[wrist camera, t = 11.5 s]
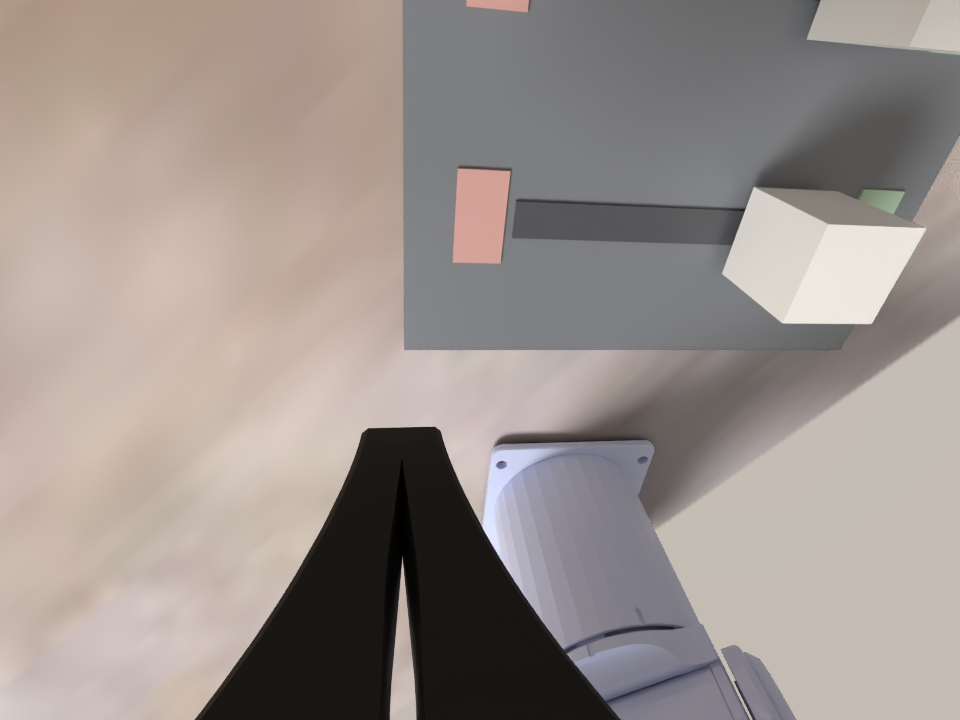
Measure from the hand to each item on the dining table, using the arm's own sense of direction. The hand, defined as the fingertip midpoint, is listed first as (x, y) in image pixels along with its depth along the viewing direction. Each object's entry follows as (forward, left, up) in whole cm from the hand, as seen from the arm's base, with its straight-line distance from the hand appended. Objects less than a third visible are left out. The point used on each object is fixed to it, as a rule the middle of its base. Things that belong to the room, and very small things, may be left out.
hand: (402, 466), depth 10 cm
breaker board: (+5, -9, -10) cm, 15 cm away
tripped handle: (+2, -13, -8) cm, 15 cm away
